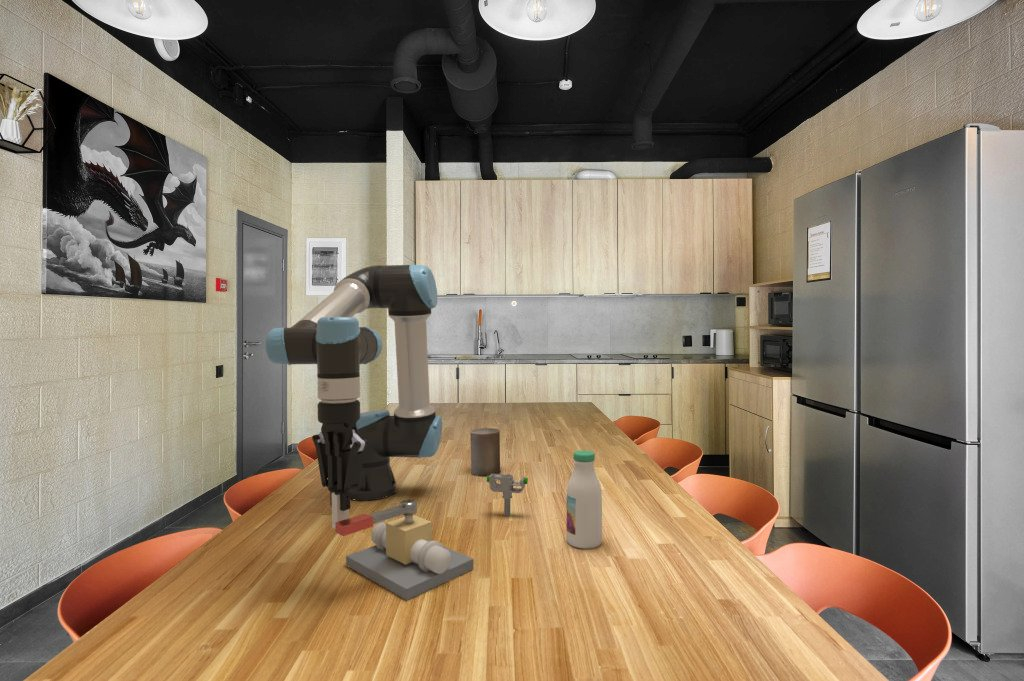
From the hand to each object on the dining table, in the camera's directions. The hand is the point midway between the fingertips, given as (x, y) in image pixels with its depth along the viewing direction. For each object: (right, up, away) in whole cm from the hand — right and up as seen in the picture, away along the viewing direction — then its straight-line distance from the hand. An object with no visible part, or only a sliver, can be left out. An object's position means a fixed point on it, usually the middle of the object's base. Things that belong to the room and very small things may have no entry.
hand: (340, 526), depth 98 cm
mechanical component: (+31, -10, +35) cm, 47 cm away
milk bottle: (+48, -10, +18) cm, 52 cm away
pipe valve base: (+12, -10, +6) cm, 17 cm away
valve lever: (+7, 0, +1) cm, 7 cm away
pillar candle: (+23, -9, +74) cm, 78 cm away
